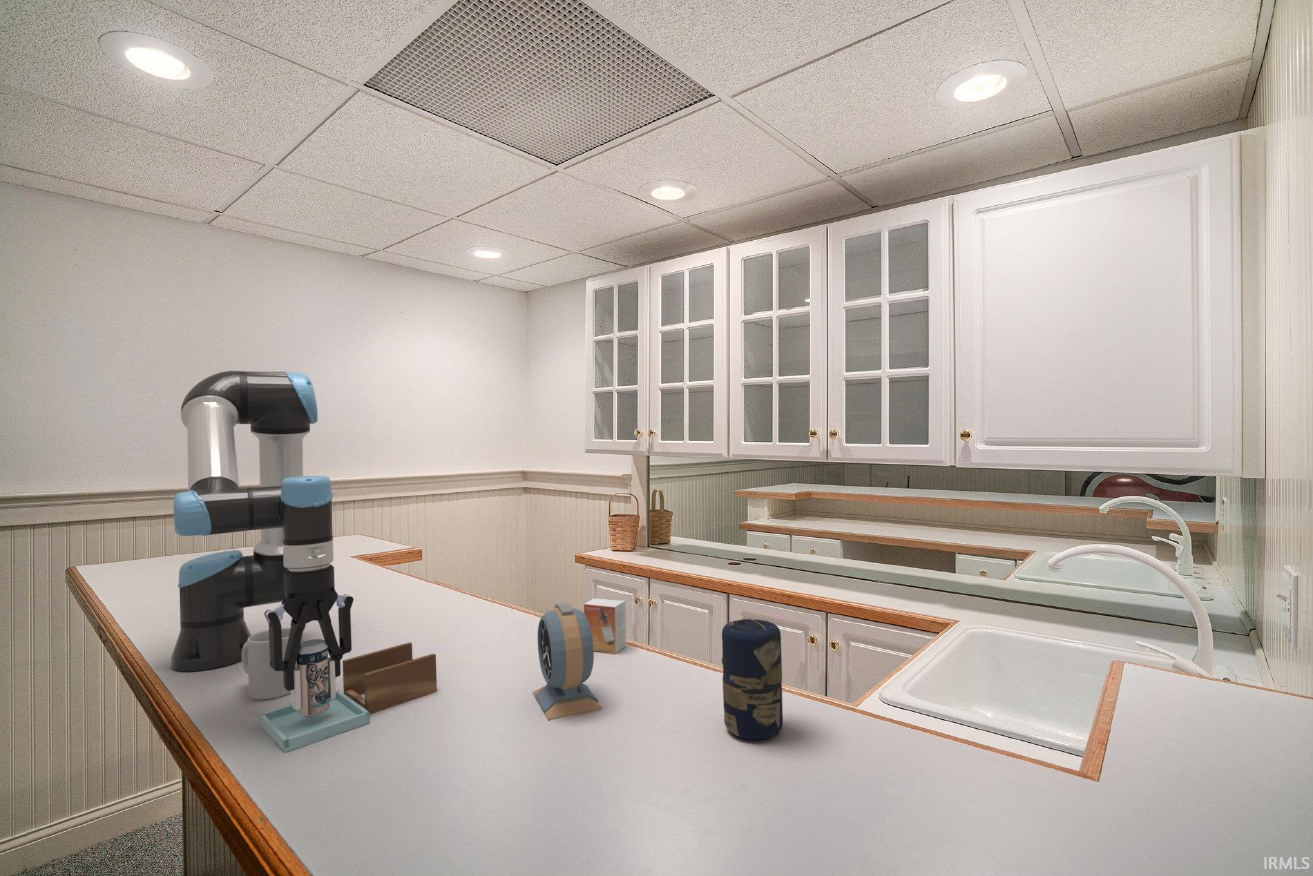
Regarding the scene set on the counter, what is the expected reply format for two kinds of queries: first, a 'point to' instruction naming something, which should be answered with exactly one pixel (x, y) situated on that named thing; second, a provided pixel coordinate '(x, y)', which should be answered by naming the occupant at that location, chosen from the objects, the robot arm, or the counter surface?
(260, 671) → the mug
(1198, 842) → the counter surface
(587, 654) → the alarm clock
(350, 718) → the tray
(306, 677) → the beer can
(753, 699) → the canister
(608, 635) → the small box
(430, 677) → the cradle
